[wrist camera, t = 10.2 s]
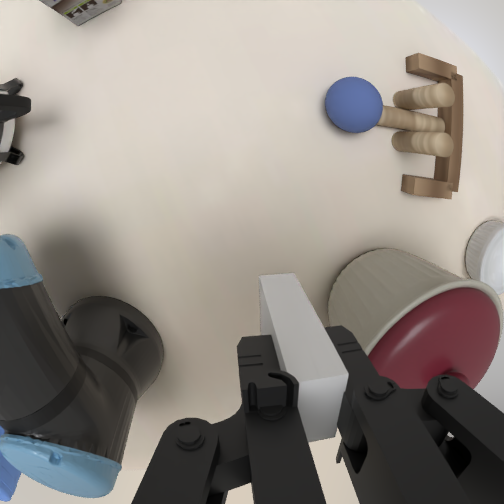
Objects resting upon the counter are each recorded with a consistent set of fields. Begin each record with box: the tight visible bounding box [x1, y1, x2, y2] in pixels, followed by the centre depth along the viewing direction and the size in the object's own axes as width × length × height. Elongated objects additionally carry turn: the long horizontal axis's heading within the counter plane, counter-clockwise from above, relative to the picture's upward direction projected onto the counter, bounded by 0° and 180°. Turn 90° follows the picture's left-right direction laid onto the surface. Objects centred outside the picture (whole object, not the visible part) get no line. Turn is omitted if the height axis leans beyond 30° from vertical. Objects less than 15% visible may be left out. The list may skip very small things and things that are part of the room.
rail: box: [401, 53, 463, 199], centre depth 31 cm, size 7×17×3 cm, turn 179°
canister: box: [328, 248, 503, 389], centre depth 29 cm, size 18×18×21 cm
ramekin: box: [466, 221, 504, 295], centre depth 36 cm, size 11×11×5 cm
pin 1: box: [393, 83, 455, 110], centre depth 27 cm, size 2×2×9 cm
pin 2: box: [392, 131, 454, 157], centre depth 29 cm, size 2×2×9 cm
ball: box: [325, 77, 383, 133], centre depth 28 cm, size 6×6×6 cm
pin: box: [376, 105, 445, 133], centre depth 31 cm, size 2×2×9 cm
